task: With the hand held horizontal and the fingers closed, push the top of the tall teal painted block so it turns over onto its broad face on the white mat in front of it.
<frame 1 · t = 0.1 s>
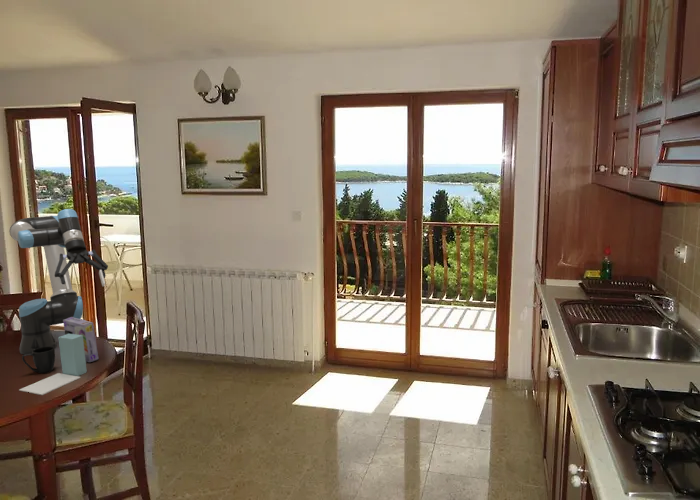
hand: (86, 287, 226), 36 cm above the table, tool tilted 35°, fingers open, 13 cm apart
cake pan box: (82, 358, 248), on the table
white mat: (50, 384, 219), on the table
teal block: (74, 373, 230), on the table
mug: (40, 372, 232), on the table
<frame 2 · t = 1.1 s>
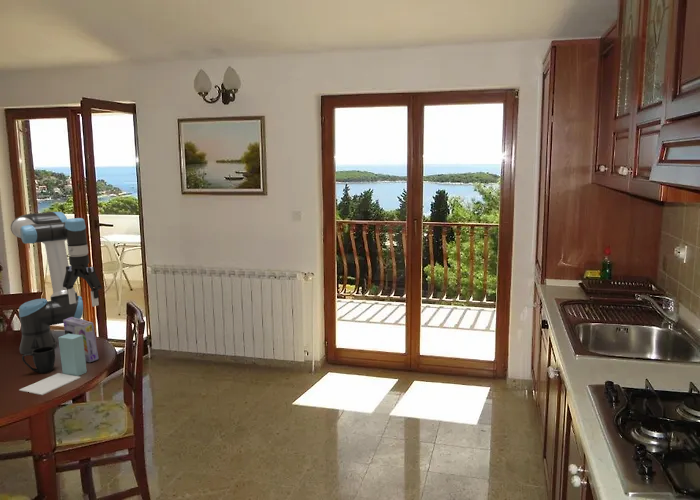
hand: (84, 304, 235), 27 cm above the table, tool pointing down, fingers open, 12 cm apart
nothing on the table moved.
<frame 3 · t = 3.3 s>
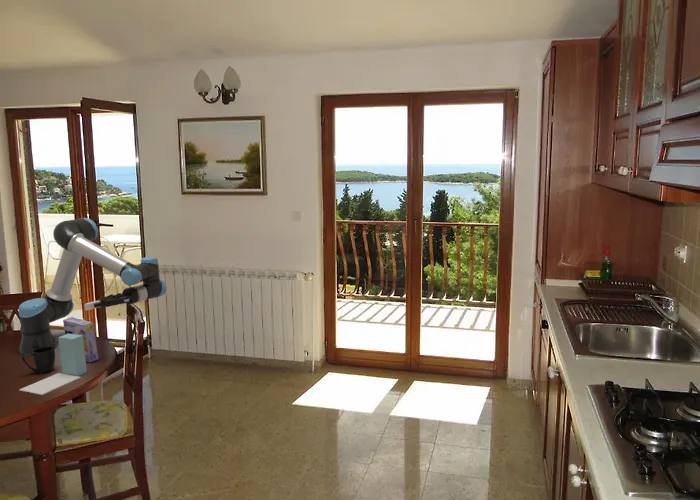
hand: (85, 307, 232), 26 cm above the table, tool horizontal, fingers closed
nothing on the table moved.
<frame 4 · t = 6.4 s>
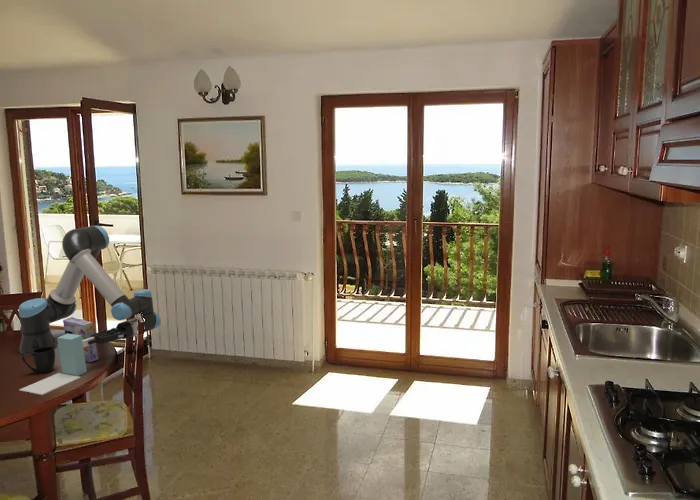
hand: (79, 344, 229), 12 cm above the table, tool horizontal, fingers closed
teal block: (74, 372, 230), on the table, touching gripper
everything else where it was.
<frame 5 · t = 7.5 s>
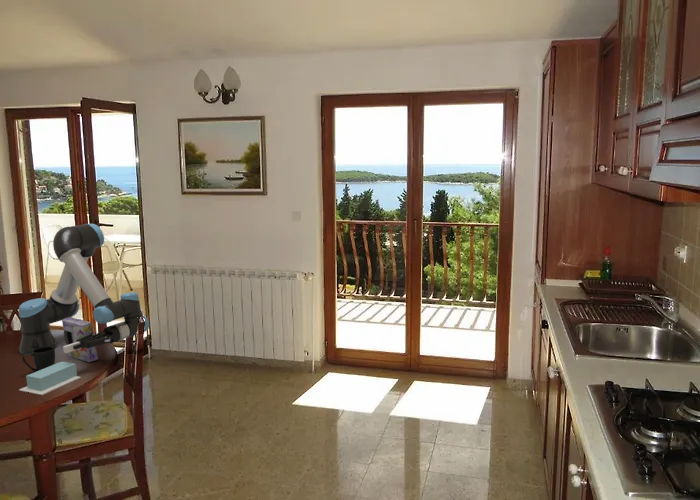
hand: (64, 349, 224), 12 cm above the table, tool horizontal, fingers closed
teal block: (69, 368, 227), point 3 cm above the table, tilted 90°, touching white mat
everything else where it was.
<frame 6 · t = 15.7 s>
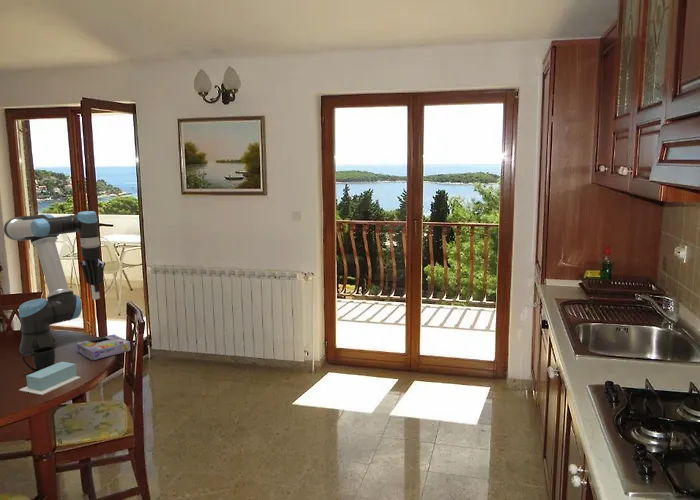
hand: (96, 298, 246), 26 cm above the table, tool pointing down, fingers closed
cake pan box: (83, 351, 248), point 3 cm above the table
everything else where it was.
at the end: teal block tilted 90°; teal block inside the target area (9.2 cm from its centre), point 2.9 cm above the table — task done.
